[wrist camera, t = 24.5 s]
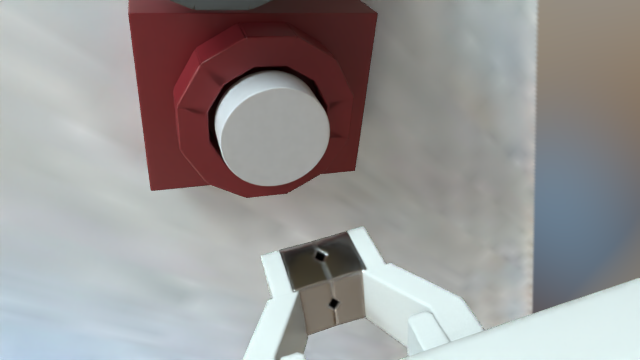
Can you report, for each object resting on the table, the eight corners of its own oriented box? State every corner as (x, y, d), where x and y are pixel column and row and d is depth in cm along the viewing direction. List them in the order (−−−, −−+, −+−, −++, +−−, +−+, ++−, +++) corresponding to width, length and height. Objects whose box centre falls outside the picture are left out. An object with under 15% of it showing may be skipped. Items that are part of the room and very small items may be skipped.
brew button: (313, 160, 23) (325, 181, 21) (215, 168, 21) (221, 192, 20) (321, 67, 20) (335, 85, 19) (212, 71, 19) (218, 90, 18)
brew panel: (341, 149, 27) (368, 190, 24) (149, 165, 24) (151, 215, 21) (359, -1, 23) (395, 25, 20) (128, -3, 20) (127, 28, 17)
